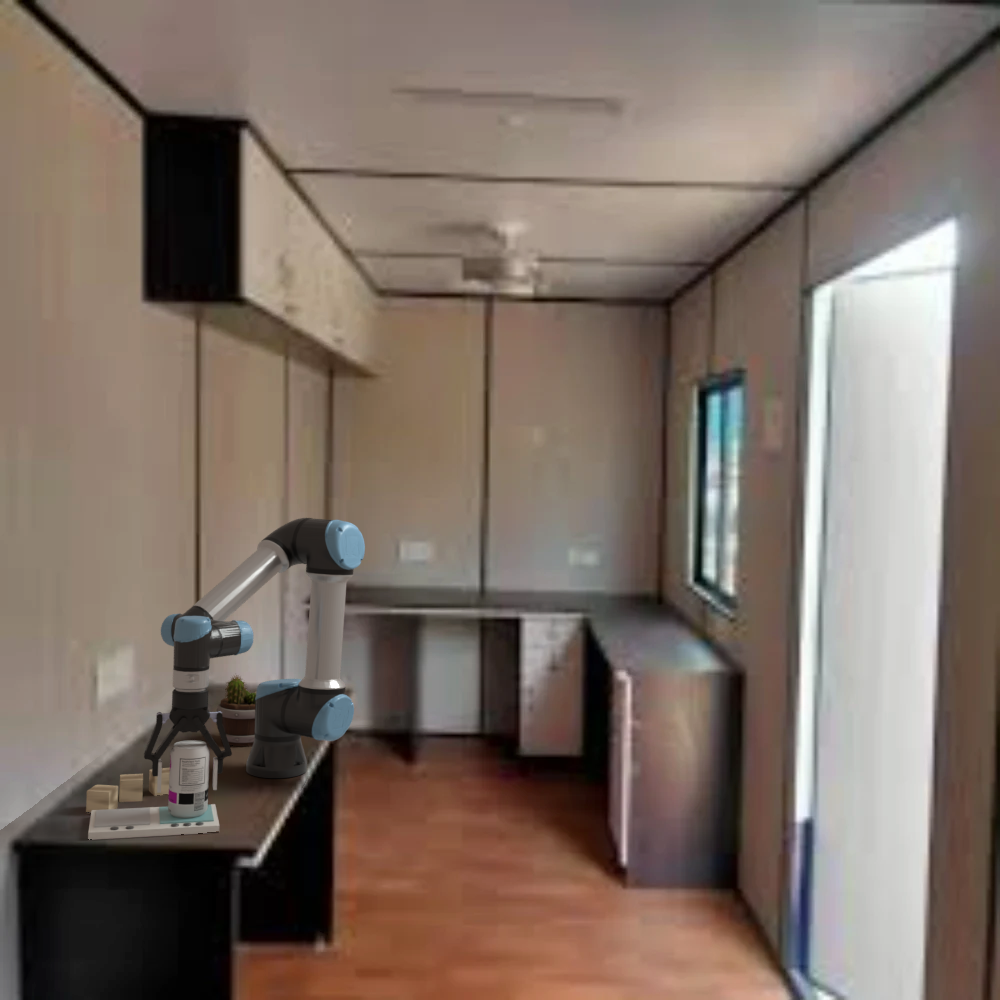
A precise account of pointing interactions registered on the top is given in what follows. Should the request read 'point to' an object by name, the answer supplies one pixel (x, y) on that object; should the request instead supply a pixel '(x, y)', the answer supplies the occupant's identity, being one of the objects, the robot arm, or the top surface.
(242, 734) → the flowerpot
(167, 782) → the maple block
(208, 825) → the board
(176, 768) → the supplement can
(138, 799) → the maple block
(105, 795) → the maple block
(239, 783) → the top surface
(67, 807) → the top surface
